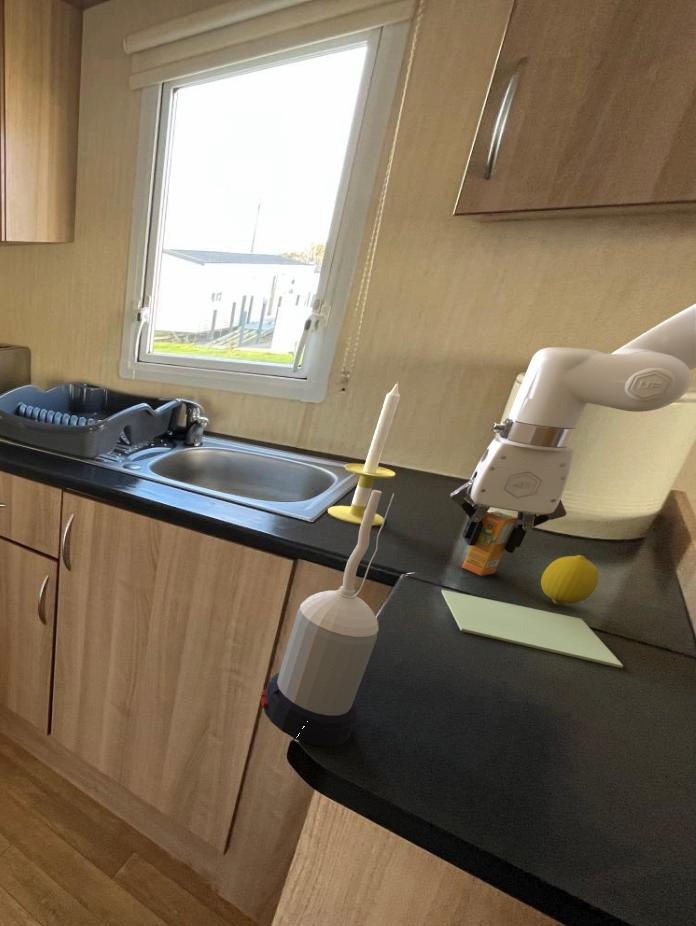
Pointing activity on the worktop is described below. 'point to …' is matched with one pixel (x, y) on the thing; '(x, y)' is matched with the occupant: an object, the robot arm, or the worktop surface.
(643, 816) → the worktop surface
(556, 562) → the lemon
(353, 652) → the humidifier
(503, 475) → the robot arm
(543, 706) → the worktop surface
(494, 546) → the supplement box
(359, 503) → the candle
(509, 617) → the mat
